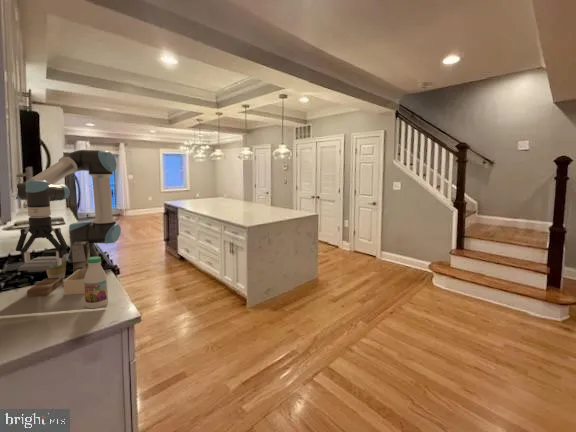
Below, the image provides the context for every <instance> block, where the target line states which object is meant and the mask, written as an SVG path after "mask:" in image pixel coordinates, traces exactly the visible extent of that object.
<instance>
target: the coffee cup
mask: <svg viewBox="0 0 576 432" xmlns="http://www.w3.org/2000/svg"><path fill="white" fill-rule="evenodd" d="M56 251H58V250H57V249H56V248H55V247H53V248H48V249H45V250H44V249H43V251H42V253H41V257H48V256H56ZM63 255H64V256H66V257H67V255H68V251H67V249H65V250H63ZM66 269H67V258H66V259H65V260H64V261H62V264H61V265H60V266H57V265H56V266H54V267H53V268H51V269H46V270H45V271H46V275H47V278H61V277H63V279H66V278H65V277H66V271H67V270H66Z"/></svg>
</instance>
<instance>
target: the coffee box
mask: <svg viewBox="0 0 576 432" xmlns="http://www.w3.org/2000/svg"><path fill="white" fill-rule="evenodd" d="M72 258H73V263H72V268H73V273H74V272H75V271H77V270H78V269H88V262H87V259H88V258H90V248H89V241H81V242H75V243H74V244H73V245H72Z"/></svg>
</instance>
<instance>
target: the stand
mask: <svg viewBox="0 0 576 432" xmlns="http://www.w3.org/2000/svg"><path fill="white" fill-rule="evenodd" d="M63 281H64V278H63V277H61V278H48V277H46V278H43V279H42V280H41V281H39V282H37V283H36V284H35V285H33V286H32V287H30V288H28V289H27V291H26V294H27V298H29V297H30V298H32V297H48V296H49V295H50V294H52V293H53V292H54V291H55V290H56V289H57V288H59V287H60V286H61V285H62V284H64V283H63Z"/></svg>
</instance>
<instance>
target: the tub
mask: <svg viewBox="0 0 576 432" xmlns="http://www.w3.org/2000/svg"><path fill="white" fill-rule="evenodd" d="M87 270H88V269H78V270H77V271H75V272H73V273H72V274H70V275H69V276H68V277H67V278H64V279H63V283H62V284H63V292H64V293H63V294H64V296H69V295H85V288H84V279H80V278H81V276H85V274H86V272H87Z"/></svg>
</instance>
